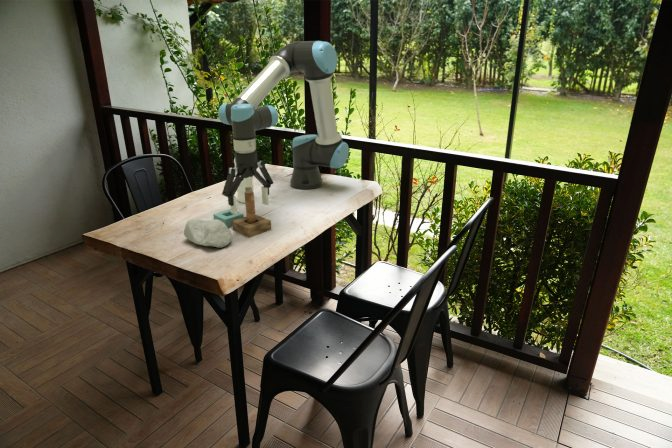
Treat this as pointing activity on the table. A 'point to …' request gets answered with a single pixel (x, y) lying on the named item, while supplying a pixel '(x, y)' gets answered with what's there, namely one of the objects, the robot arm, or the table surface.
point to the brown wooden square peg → (250, 205)
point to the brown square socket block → (251, 226)
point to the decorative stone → (207, 232)
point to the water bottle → (243, 187)
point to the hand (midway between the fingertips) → (250, 208)
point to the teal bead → (227, 217)
